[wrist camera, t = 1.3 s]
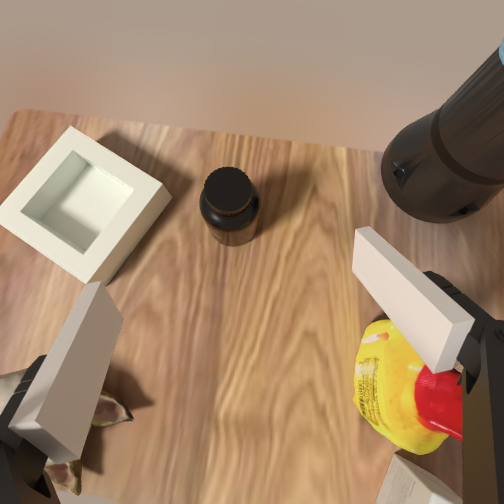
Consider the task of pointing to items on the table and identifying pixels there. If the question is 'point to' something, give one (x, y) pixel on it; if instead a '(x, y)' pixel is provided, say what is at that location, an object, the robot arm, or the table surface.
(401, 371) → the bottle
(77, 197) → the holder
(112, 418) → the ceramic sculpture
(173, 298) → the table surface
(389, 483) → the skincare box
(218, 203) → the supplement bottle
